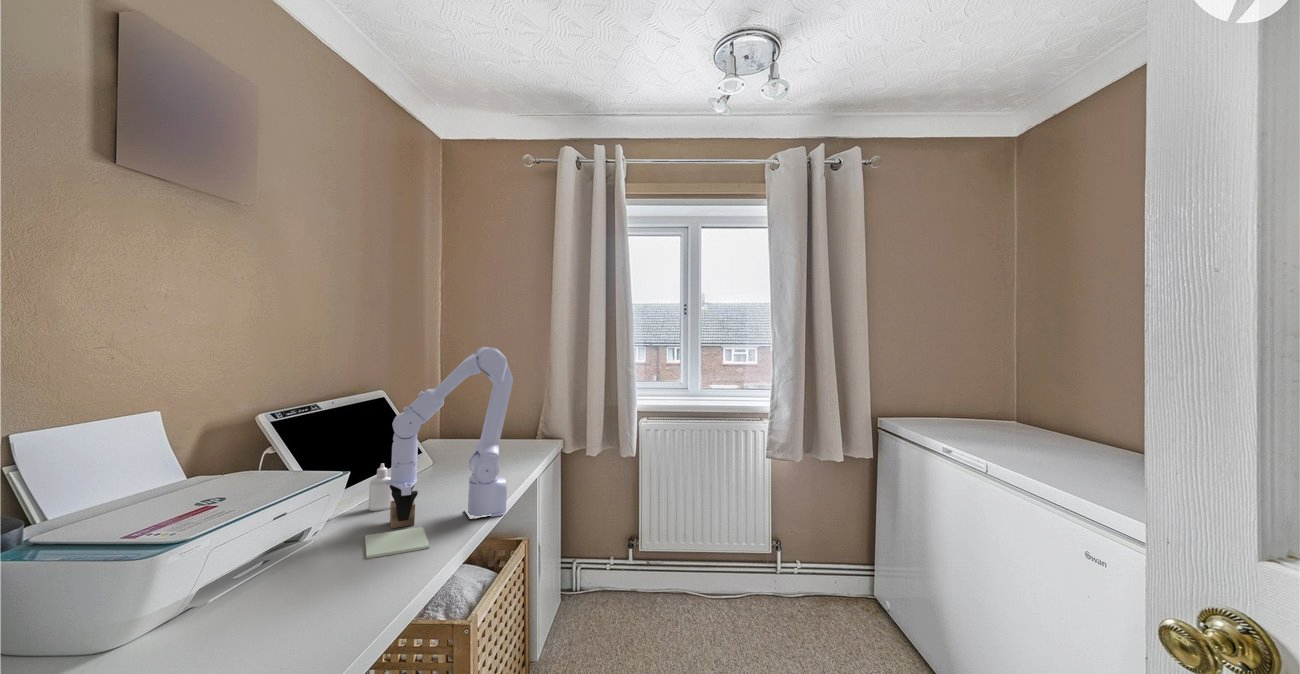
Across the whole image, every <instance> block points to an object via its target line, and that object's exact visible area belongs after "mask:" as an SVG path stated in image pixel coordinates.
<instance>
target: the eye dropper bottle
mask: <svg viewBox="0 0 1300 674" xmlns="http://www.w3.org/2000/svg"><path fill="white" fill-rule="evenodd" d="M390 479H391V476H388V467H385V463H384V462H383V463H380V466H379V467H378V468H377V469H376V477H375V478H372V479H371V480H370V481H369V487H368V510H369V512H378V511H386V510H390V509H391V501H394V499H393V497H392V494H391V492H392V491H391V489H390V485H386V484H385V481H386V480H390Z"/></svg>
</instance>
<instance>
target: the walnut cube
mask: <svg viewBox="0 0 1300 674" xmlns="http://www.w3.org/2000/svg"><path fill="white" fill-rule="evenodd" d="M389 510H390V511H389V512H390V513H389V523H390V529H395V528H396V529H397V528H403V527H411V526H415V519H416V518H415V517H416V515H415V514H416V513H415V512H416V504H415V501H414V502H413V504H412V507H411V512H410V516H409V519H408V520H406V521H399V520H398V516H397V509H396V503H395V501H394V500H393V501H391V508H390V509H389Z"/></svg>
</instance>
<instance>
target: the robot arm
mask: <svg viewBox="0 0 1300 674" xmlns="http://www.w3.org/2000/svg"><path fill="white" fill-rule="evenodd" d="M482 372H483V373H485V375H486V376H487V378H488V379H489V380H490V382H491V383H492V388H491V392H490V397H489V400H488V404H487V409H486V413H485V418H484V421H483V426H482V430H481V434H480V440H479V442H478V443H477V445H476V448H475V451H474V453H473V454H472V456H470V458H469V462H468V466H469V470H470V471H471V472H472V473H471V475H470V477H469V478H468V494H467V495H468V500H467V508H468V513H469V514H470V515H474V516H482V515H489V514H491V517H490V518H494V517H499V516H506V515H507V497H508V496H507V492H508V491H507V489H508V488H507V486H508V485H507V481H506V478H505V477H498V476H499V473H500V464H499V458H500V449H499V447H500V445H499V444H500V441H501V437H502V432H503V429H504V428H503V427H504V424H505V423H504V422H505V420H506V419H505V418H506V414H507V410H508V406H509V402H510V397H511V393H512V390H513V389H512V388H513V384H514V378H513V374H512V372H511V370H510V367H509V364H508V359H507V357H506V356H505V355H504V354H503V352H501V351H500V350H499V349H498V348H496V347H488V346H482V347H479V348H477V350H476V351H475V352H474V353H472V354H470V355H469V356H467V357H466V358H465V359H464V360H463V361H461V362H460V363H459V365H457V366H456V367H455V368H454V369H453V370H452V371H451V373H449V374H448V375H447V376H446V377H445V378H444V379H443V380H442V381H441V383H440V384H438V385H437V386H436V387H435V388H426V390H424V391H423V390H421V391H420V392H419V393H417V396H418V397H417V398H416V399H415V400H414V401H412V403H410V404H409V405H408V406H405V407H404V408H402V411H403V412H400V413H399V414H397V415H396V416H395V417H394V418H393V421H392V424H391V425H392V429H393V432H394V433H393V437H392V441H393V442H392V445H391V466H390V467H391V468H390V471H391V473H390V477H391V479H390V480H386V481H385V484H386V485H390V489H391V491H392V492H391V494H392V497H393V501H395V503H396V509H397V516H398V520H399V521H406V520H408V519H409V516H410V512H411V507H412V504H413V502H414V503H415V500H416V498H417V496H418V494H419V492H418V490H413V489H414V488H415V486H416V484H417V482H418V477H417V476H418V475H417V474H418V455H419V454H418V452H419V451H418V450H419V442H418V434H419V432H420V431H421V425H423V424H425V423H427V422H428V421H429V420H430V419H431V418H432V417H433V416H434V415H435V414H436V413H437V412H439V410H440V409H441V408H442V407H443V406H445V405H444V404H445V398H446V397H447V396H448V395H449V394H450V393H451V392H452V391H453V390H455V389H456V388H457V387H458V386H460V384H461V383H463V382H464V381H465V380H466V379H467V378H468V377H470V376H475V375H479V374H482Z"/></svg>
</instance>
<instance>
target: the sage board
mask: <svg viewBox="0 0 1300 674" xmlns="http://www.w3.org/2000/svg"><path fill="white" fill-rule="evenodd" d="M364 540H365V554H366V555H365V556H366V559H367V560H368V559H372V558H379V557H380V558H381V557H386V556H390V555H392V556H393V555H396V554H397V555H398V554H402V553H407V552H408V553H409V552H415V551H419V550H421V549H422V550H427V549H430V543H429V541H428V538H427V534H426V531H425V529H424V527H423V526H419V527H413V528H407V529H400V530H394V531H385V532H379V533H372V534H366V535H364ZM426 548H427V549H426Z"/></svg>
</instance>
